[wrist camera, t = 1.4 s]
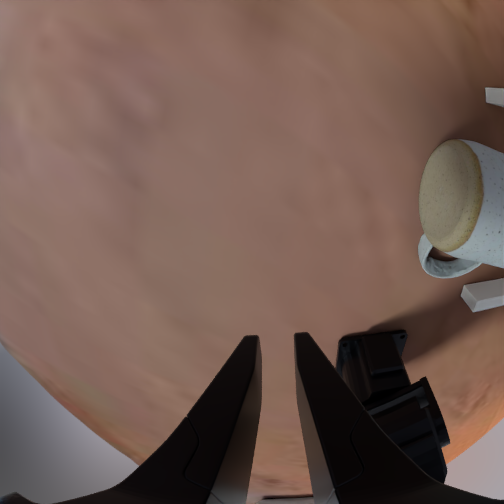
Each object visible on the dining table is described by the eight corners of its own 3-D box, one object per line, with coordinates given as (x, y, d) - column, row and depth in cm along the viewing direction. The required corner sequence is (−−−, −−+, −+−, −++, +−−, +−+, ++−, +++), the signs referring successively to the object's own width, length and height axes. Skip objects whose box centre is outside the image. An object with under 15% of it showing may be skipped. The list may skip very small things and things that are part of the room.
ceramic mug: (422, 125, 16) (495, 147, 9) (501, 153, 16) (568, 185, 9) (390, 264, 21) (430, 333, 14) (466, 270, 21) (511, 327, 14)
